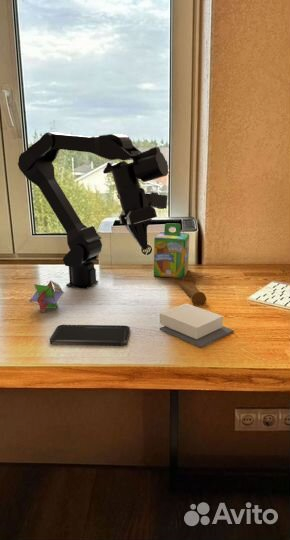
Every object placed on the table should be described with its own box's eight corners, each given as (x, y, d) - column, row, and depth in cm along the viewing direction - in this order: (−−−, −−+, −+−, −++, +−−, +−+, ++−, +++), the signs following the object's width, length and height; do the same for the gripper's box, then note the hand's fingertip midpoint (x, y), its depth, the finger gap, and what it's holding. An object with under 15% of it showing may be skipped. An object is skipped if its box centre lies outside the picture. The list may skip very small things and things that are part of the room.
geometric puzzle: (48, 310, 89) (57, 276, 91) (20, 307, 91) (30, 273, 93) (62, 319, 95) (70, 286, 98) (36, 315, 97) (44, 284, 100)
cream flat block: (159, 313, 84) (197, 327, 77) (185, 303, 89) (222, 316, 82) (159, 325, 85) (196, 340, 78) (185, 314, 90) (222, 328, 83)
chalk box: (153, 277, 118) (153, 226, 114) (159, 268, 127) (159, 220, 122) (185, 279, 116) (186, 227, 112) (189, 269, 125) (190, 221, 120)
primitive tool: (173, 282, 115) (173, 270, 114) (192, 281, 116) (192, 269, 115) (191, 307, 97) (192, 293, 96) (214, 306, 97) (214, 292, 96)
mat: (160, 329, 84) (159, 328, 84) (192, 316, 90) (192, 314, 90) (201, 348, 76) (201, 346, 76) (233, 331, 82) (233, 330, 82)
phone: (126, 343, 77) (47, 341, 78) (126, 348, 77) (48, 346, 78) (130, 325, 84) (58, 324, 85) (130, 330, 85) (59, 329, 86)
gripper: (169, 174, 91) (186, 242, 93) (151, 182, 109) (166, 238, 111) (121, 187, 89) (140, 256, 91) (111, 193, 107) (127, 250, 110)
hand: (145, 249), depth 101 cm, fingers closed
